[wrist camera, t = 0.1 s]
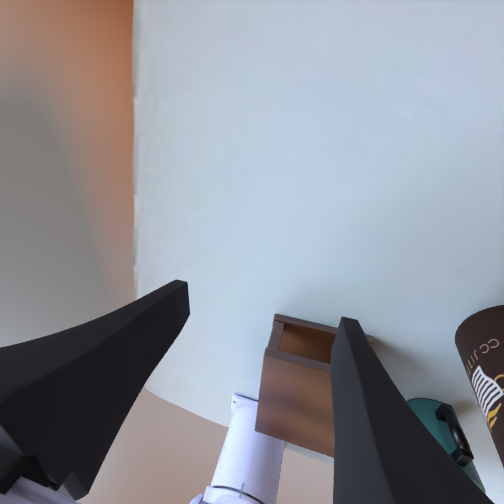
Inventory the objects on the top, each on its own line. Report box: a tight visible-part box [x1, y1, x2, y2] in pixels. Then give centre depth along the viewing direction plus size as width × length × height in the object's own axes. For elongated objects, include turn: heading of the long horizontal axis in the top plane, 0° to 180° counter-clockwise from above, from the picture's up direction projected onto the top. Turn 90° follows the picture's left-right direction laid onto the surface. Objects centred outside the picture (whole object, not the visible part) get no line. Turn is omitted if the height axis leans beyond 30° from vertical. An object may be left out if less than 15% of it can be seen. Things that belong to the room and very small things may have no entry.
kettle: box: [407, 399, 485, 493], centre depth 22 cm, size 9×5×7 cm, turn 176°
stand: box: [254, 314, 373, 458], centre depth 24 cm, size 12×9×5 cm
